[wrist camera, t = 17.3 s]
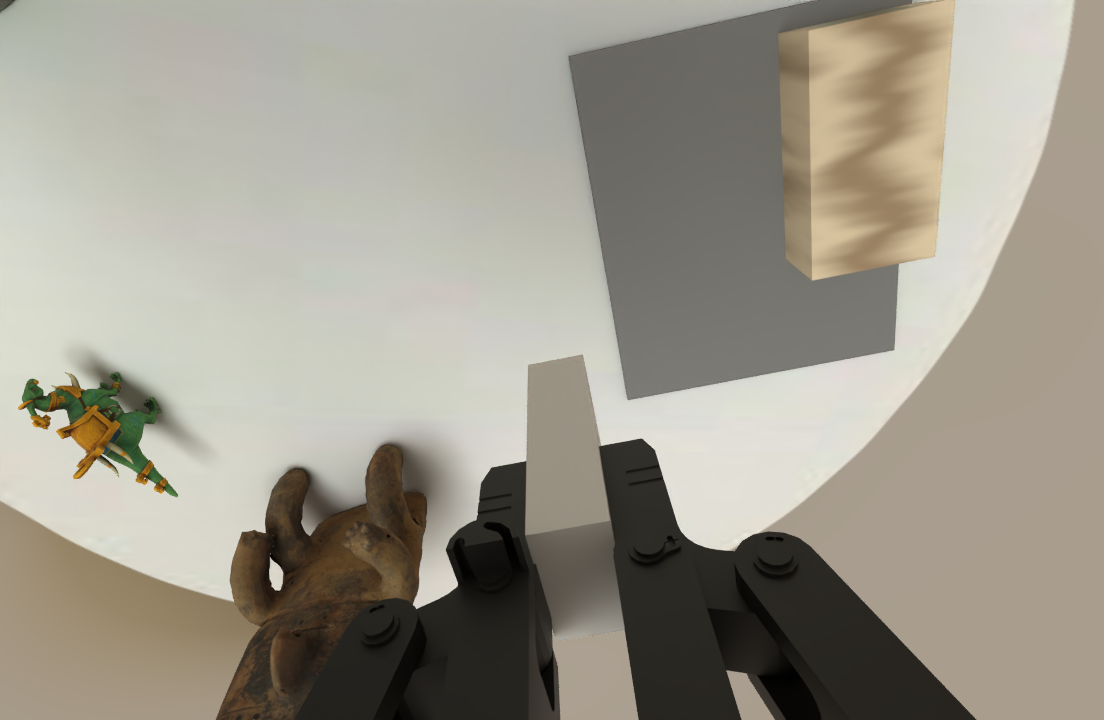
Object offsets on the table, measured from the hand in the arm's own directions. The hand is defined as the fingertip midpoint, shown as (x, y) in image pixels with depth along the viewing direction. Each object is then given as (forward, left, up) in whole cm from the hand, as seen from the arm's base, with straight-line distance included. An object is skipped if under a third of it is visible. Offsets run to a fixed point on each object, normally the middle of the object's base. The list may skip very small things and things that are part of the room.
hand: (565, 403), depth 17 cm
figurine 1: (+9, -33, -27) cm, 43 cm away
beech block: (+7, +19, -24) cm, 31 cm away
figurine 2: (+20, -20, -27) cm, 39 cm away
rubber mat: (+4, +13, -26) cm, 30 cm away
